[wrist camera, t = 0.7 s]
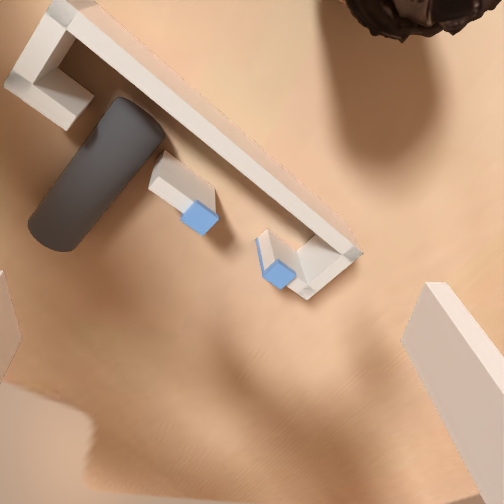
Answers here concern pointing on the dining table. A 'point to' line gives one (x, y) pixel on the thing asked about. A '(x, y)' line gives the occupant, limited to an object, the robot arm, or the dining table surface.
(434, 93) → the dining table surface
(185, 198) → the white u-shaped bracket
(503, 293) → the dining table surface
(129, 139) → the dark gray cylinder
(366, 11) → the coffee cup
